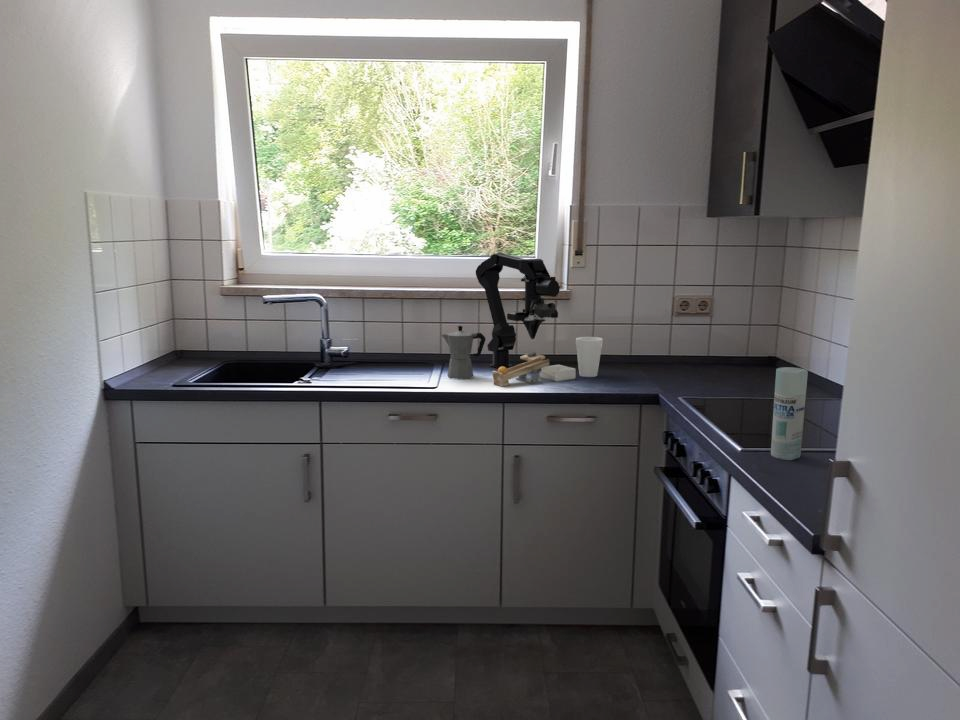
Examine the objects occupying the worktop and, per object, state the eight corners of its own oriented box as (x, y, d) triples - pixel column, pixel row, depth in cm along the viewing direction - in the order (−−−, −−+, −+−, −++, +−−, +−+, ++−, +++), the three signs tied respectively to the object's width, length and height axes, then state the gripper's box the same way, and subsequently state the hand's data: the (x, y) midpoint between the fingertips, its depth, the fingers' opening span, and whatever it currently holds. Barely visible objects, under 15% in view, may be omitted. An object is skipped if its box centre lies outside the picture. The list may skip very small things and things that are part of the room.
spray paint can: (764, 454, 166) (770, 369, 162) (780, 449, 170) (787, 366, 166) (790, 462, 161) (797, 373, 157) (806, 457, 164) (813, 370, 161)
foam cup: (593, 378, 250) (594, 341, 248) (570, 375, 256) (570, 339, 253) (606, 374, 258) (607, 338, 255) (583, 371, 263) (584, 336, 261)
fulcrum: (515, 379, 249) (515, 370, 248) (525, 378, 251) (525, 369, 251) (531, 384, 241) (531, 374, 241) (542, 382, 244) (542, 373, 243)
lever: (476, 378, 250) (474, 366, 249) (532, 359, 262) (530, 347, 261) (505, 387, 236) (503, 374, 235) (562, 366, 248) (560, 354, 247)
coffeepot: (439, 378, 250) (438, 327, 247) (444, 373, 260) (444, 323, 256) (483, 380, 248) (483, 328, 245) (487, 374, 257) (487, 324, 254)
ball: (497, 376, 241) (494, 368, 240) (504, 372, 242) (501, 363, 241) (503, 378, 238) (499, 370, 237) (510, 373, 240) (507, 365, 238)
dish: (539, 376, 253) (539, 367, 253) (558, 374, 258) (558, 364, 257) (555, 381, 246) (556, 371, 245) (575, 378, 250) (575, 368, 250)
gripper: (525, 298, 243) (524, 344, 245) (568, 295, 253) (567, 339, 255) (506, 295, 252) (506, 340, 255) (548, 293, 262) (548, 335, 265)
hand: (532, 338), depth 257 cm, fingers closed
